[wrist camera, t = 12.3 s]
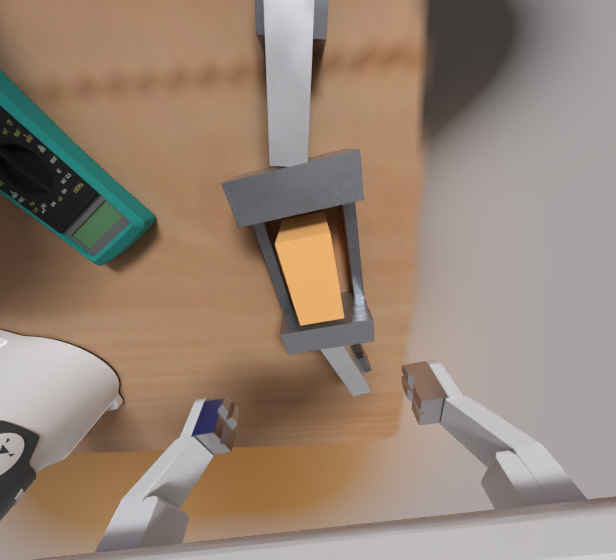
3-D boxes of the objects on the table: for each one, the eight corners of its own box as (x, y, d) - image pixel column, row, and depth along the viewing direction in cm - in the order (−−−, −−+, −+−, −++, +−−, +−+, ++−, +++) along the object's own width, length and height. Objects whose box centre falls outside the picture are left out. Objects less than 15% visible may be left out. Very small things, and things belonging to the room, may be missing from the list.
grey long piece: (368, 361, 31) (378, 395, 27) (307, 371, 32) (308, 405, 28) (325, -52, 12) (336, -158, 8) (179, -3, 13) (120, -73, 9)
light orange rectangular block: (336, 281, 24) (344, 318, 19) (301, 288, 25) (300, 325, 20) (323, 210, 20) (330, 232, 15) (282, 219, 20) (274, 244, 15)
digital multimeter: (-32, 30, 14) (-105, 5, 12) (163, 218, 21) (144, 228, 18) (-69, 110, 16) (-138, 104, 14) (119, 258, 23) (96, 272, 20)
